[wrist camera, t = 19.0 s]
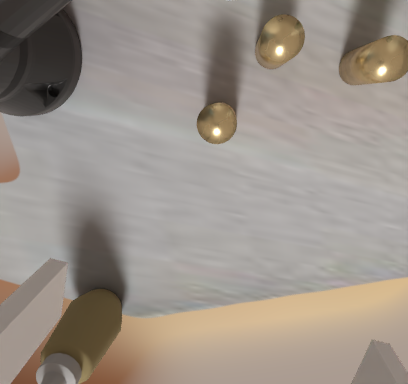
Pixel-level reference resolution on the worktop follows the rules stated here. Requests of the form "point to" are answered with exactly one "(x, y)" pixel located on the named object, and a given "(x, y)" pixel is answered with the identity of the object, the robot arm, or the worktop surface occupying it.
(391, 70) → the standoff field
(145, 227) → the worktop surface
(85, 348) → the squeeze bottle
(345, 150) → the worktop surface
